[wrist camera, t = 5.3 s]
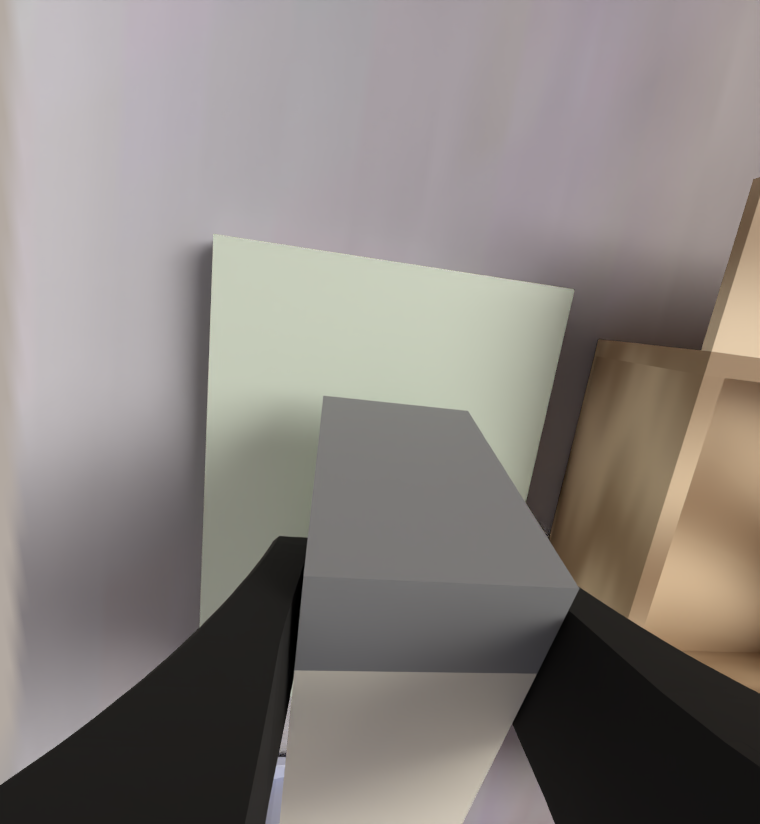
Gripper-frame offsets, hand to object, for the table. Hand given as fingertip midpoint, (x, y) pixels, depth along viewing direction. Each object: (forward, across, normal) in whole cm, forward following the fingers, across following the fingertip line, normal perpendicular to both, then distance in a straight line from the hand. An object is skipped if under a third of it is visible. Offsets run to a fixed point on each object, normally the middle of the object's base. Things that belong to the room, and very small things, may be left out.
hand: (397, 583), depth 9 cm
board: (+6, 0, +1) cm, 6 cm away
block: (+4, 0, +1) cm, 4 cm away
